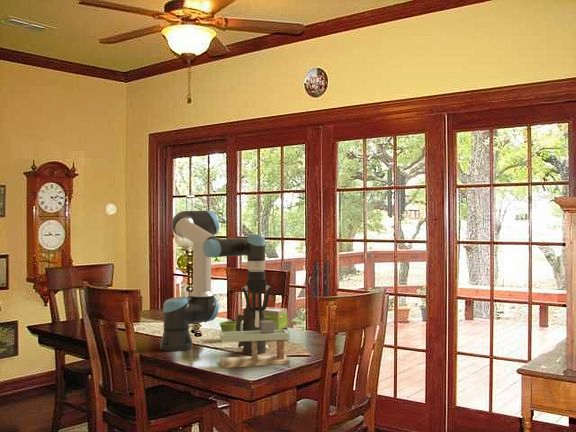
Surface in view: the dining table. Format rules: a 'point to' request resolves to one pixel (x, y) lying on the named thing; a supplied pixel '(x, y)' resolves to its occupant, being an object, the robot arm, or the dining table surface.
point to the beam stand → (257, 358)
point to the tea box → (277, 317)
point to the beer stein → (250, 326)
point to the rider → (266, 327)
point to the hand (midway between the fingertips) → (257, 326)
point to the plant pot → (228, 326)
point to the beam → (253, 336)
